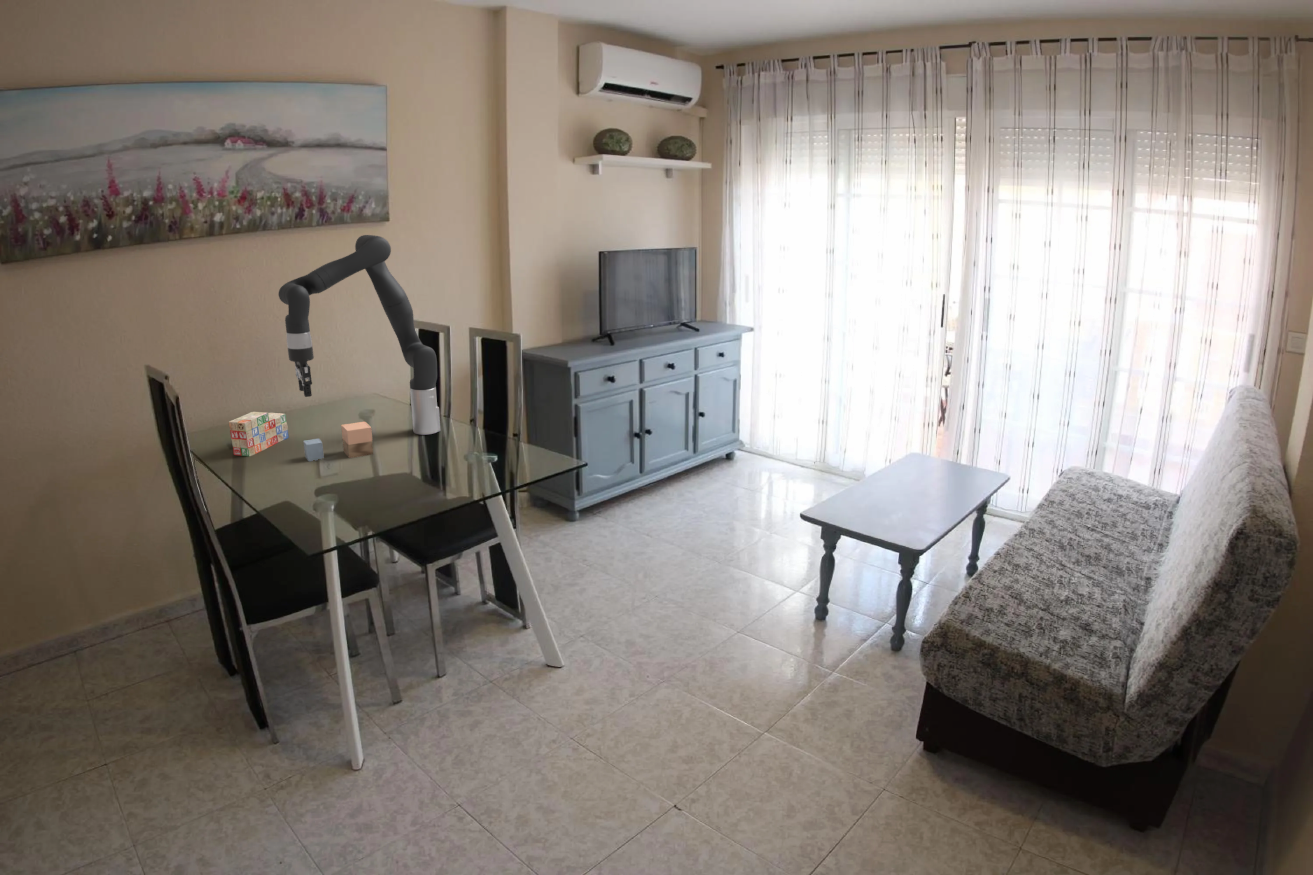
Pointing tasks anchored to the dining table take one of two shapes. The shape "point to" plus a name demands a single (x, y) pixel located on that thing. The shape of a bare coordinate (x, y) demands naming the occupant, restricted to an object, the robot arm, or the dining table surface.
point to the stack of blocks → (257, 432)
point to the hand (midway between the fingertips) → (305, 393)
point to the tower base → (357, 449)
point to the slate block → (313, 449)
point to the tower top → (356, 433)
